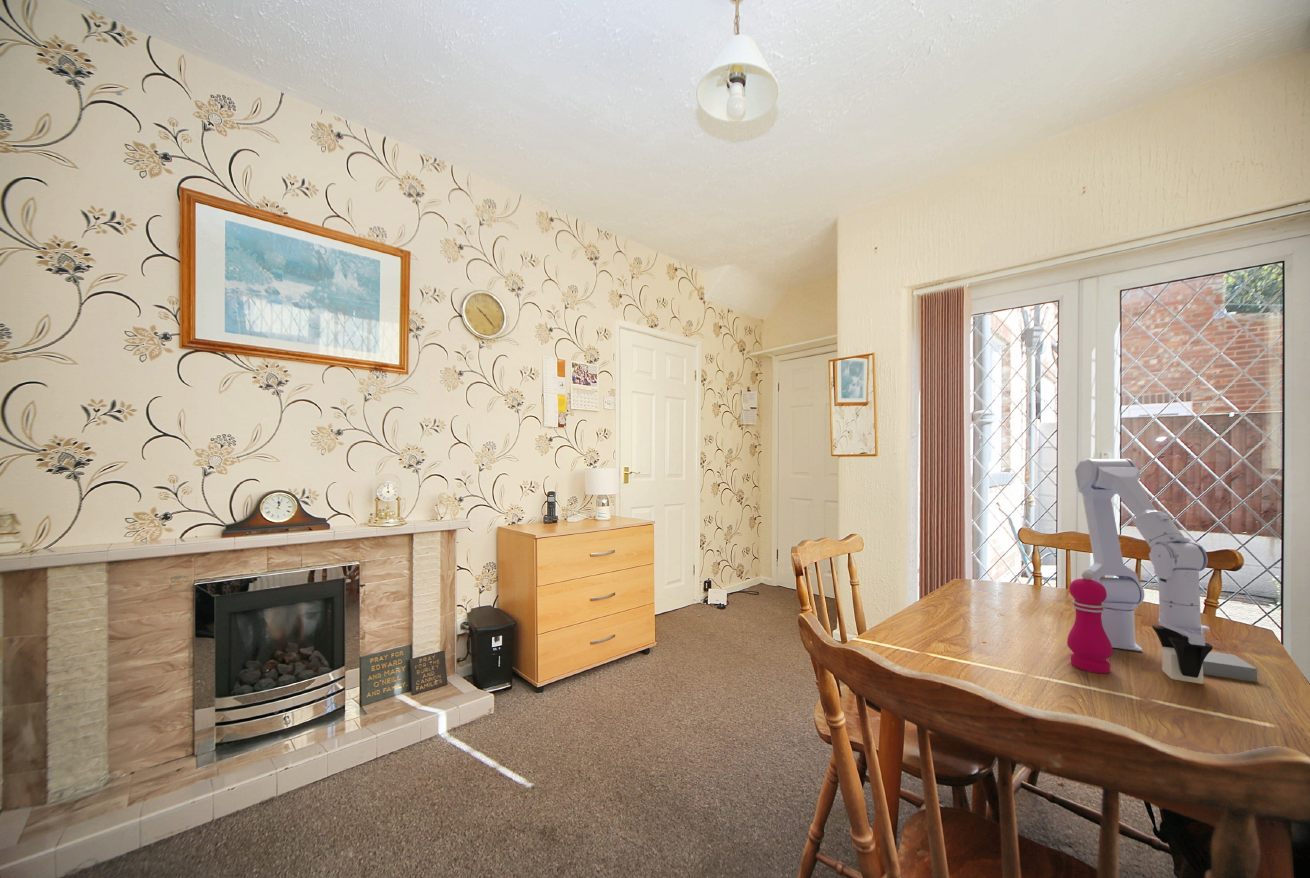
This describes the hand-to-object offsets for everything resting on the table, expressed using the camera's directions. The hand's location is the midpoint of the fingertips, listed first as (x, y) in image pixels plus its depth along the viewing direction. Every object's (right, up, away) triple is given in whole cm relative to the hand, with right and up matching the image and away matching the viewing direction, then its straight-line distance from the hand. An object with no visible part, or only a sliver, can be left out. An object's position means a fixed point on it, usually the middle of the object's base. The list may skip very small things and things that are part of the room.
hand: (1181, 669), depth 99 cm
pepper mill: (-15, -2, +4) cm, 15 cm away
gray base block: (+11, -2, +3) cm, 11 cm away
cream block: (0, -2, 0) cm, 2 cm away
